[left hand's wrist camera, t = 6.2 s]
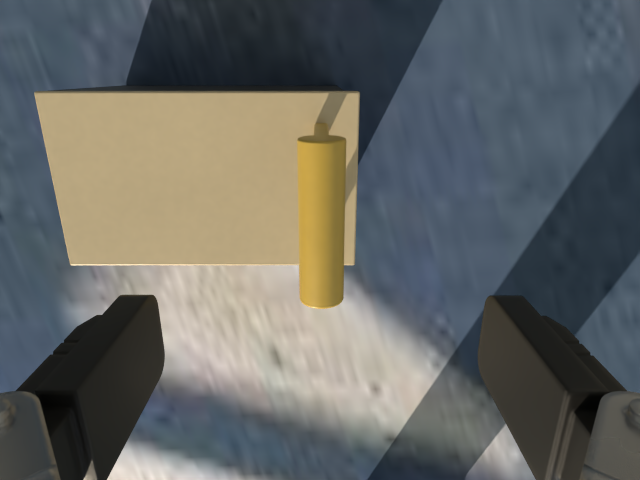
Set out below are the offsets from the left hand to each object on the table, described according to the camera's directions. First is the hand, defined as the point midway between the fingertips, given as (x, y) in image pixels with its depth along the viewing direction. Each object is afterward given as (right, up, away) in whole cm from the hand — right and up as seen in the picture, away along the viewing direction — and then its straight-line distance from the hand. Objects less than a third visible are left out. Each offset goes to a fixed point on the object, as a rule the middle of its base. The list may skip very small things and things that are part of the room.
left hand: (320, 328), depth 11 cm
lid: (-6, +6, +15) cm, 17 cm away
